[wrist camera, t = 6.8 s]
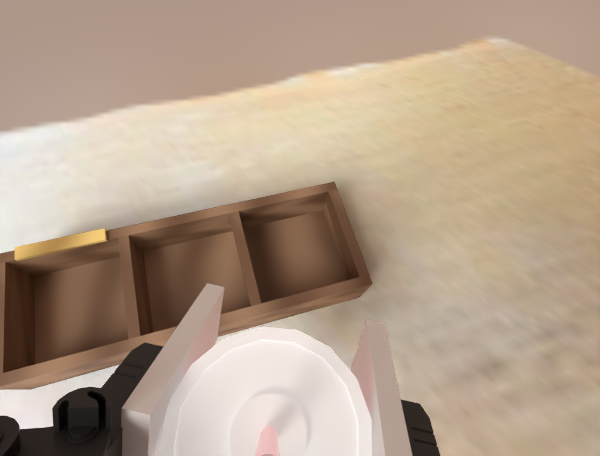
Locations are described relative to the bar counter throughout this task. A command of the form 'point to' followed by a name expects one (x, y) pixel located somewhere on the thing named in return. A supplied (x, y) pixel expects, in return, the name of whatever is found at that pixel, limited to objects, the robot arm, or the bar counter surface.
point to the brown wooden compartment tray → (171, 281)
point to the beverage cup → (268, 401)
